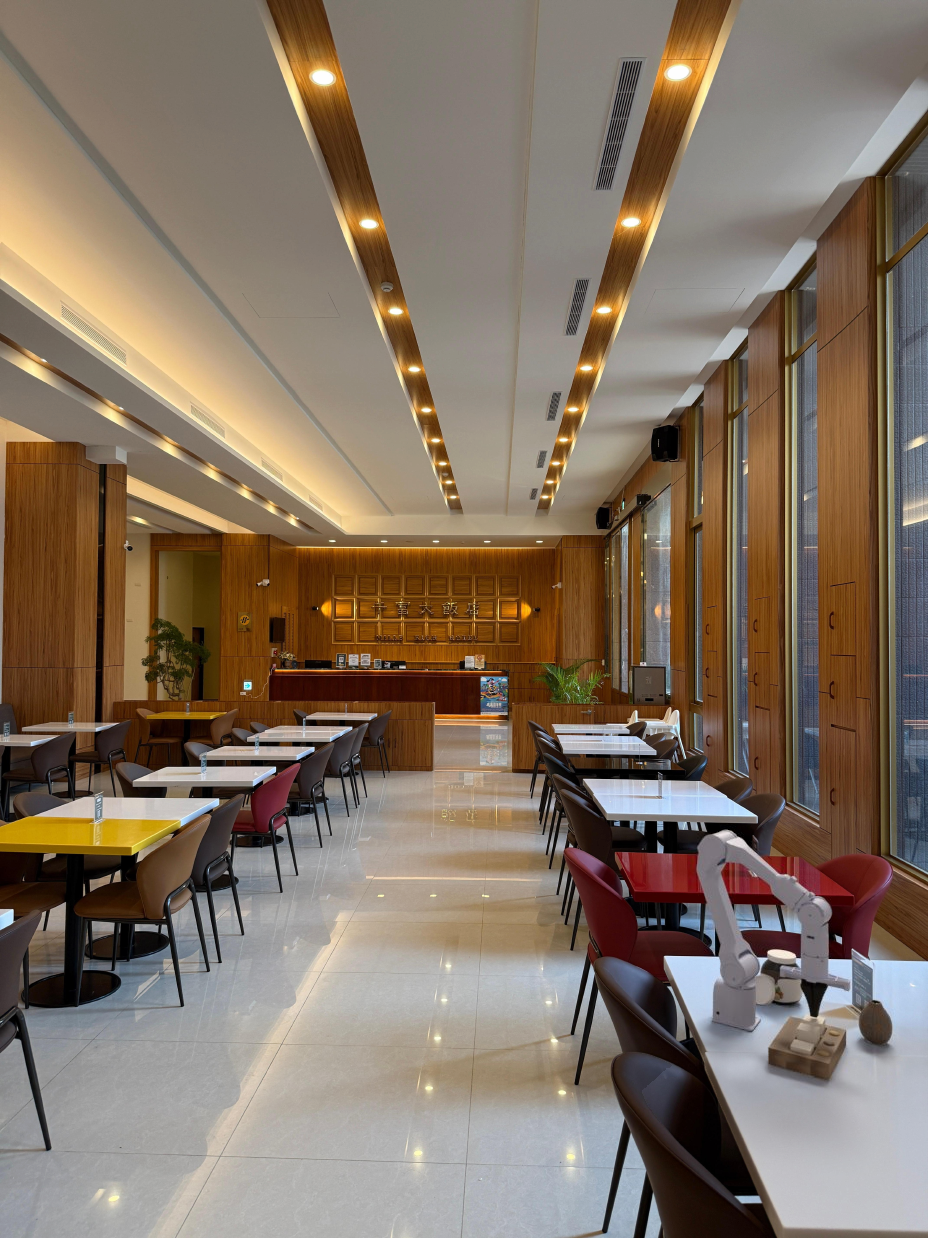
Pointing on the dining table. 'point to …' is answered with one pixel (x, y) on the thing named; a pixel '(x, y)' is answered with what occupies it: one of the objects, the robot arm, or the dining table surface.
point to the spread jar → (777, 981)
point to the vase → (875, 1023)
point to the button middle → (808, 1033)
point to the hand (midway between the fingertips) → (814, 1016)
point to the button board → (805, 1064)
